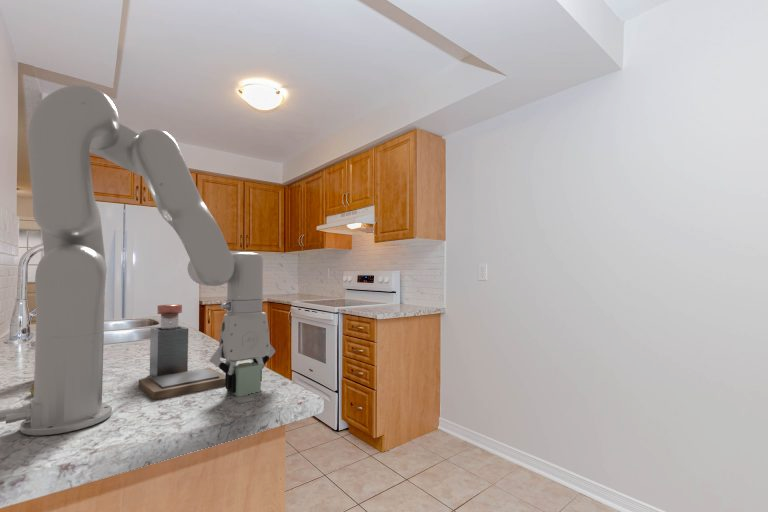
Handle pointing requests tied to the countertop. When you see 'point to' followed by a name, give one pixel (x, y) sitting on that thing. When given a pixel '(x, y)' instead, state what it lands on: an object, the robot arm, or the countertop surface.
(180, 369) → the column
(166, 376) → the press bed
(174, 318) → the push button
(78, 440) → the countertop surface
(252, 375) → the block
